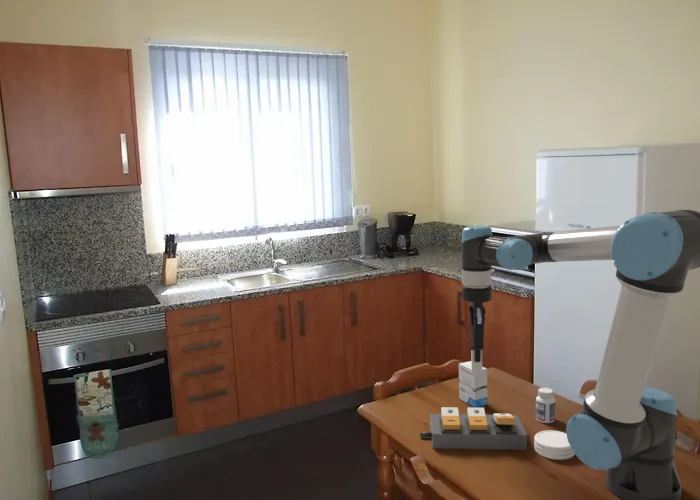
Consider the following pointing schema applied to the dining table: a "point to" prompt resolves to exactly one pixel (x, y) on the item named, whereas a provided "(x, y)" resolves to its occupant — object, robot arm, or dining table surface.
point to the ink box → (472, 385)
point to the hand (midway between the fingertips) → (476, 371)
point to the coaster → (553, 445)
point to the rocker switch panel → (477, 435)
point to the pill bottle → (545, 406)
